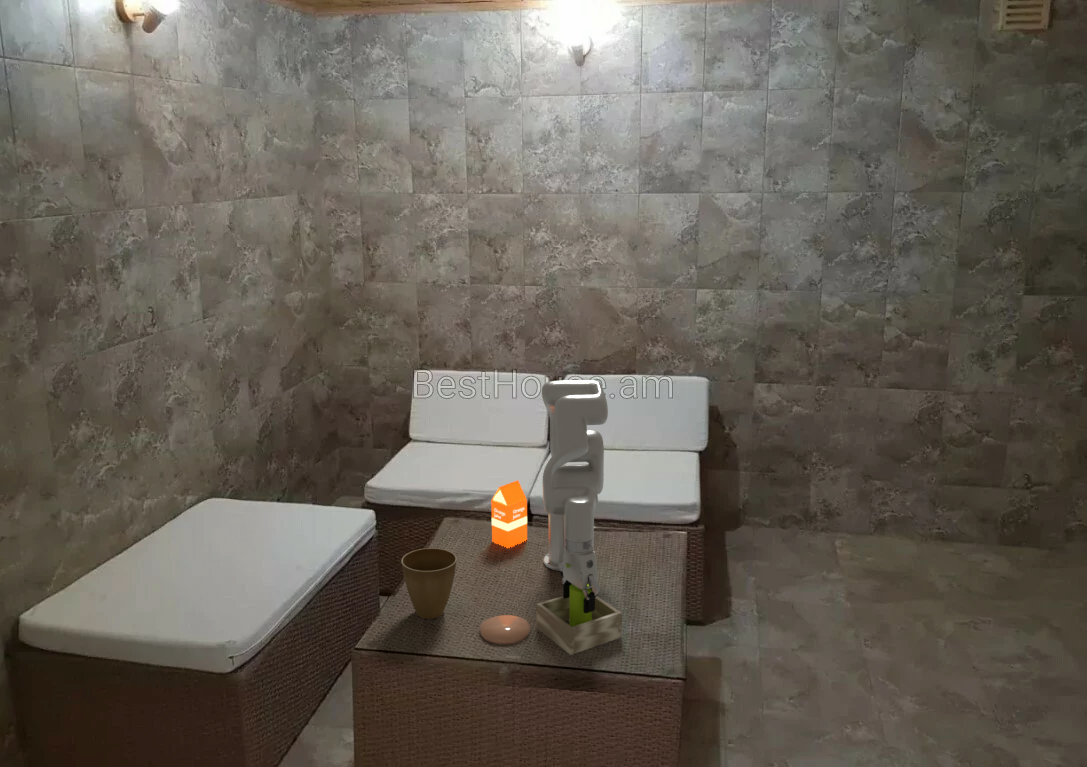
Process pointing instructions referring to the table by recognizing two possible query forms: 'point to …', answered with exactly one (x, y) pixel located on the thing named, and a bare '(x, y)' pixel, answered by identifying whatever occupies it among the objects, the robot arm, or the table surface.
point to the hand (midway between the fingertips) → (578, 604)
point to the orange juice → (509, 515)
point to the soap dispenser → (577, 606)
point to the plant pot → (429, 579)
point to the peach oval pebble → (505, 629)
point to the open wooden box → (583, 635)
